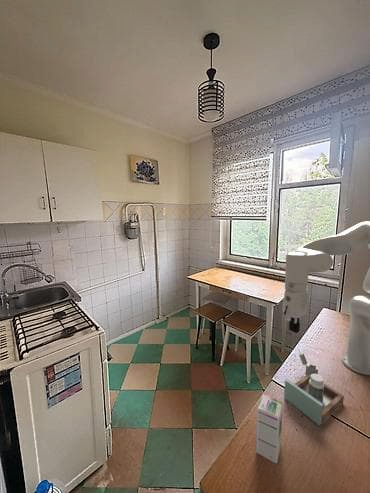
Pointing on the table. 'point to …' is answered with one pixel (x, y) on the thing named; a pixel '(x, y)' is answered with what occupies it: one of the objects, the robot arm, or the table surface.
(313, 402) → the gate
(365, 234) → the robot arm
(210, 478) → the table surface
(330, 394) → the bay
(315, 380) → the pill bottle
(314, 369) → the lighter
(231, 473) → the table surface
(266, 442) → the syrup box
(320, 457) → the table surface
